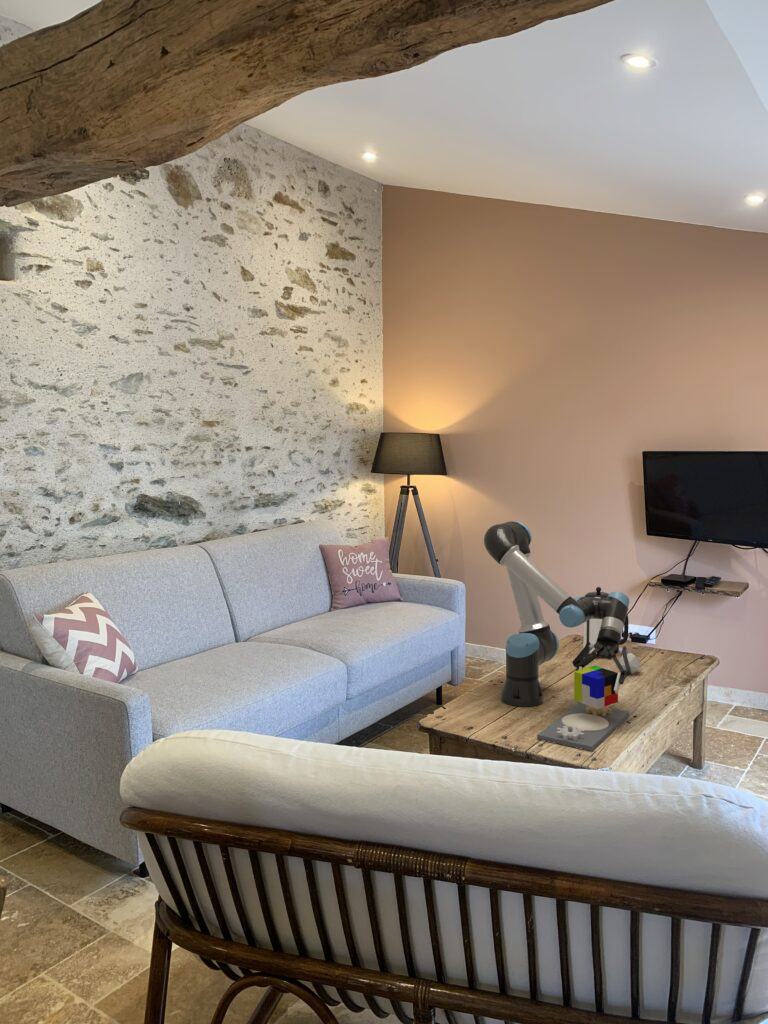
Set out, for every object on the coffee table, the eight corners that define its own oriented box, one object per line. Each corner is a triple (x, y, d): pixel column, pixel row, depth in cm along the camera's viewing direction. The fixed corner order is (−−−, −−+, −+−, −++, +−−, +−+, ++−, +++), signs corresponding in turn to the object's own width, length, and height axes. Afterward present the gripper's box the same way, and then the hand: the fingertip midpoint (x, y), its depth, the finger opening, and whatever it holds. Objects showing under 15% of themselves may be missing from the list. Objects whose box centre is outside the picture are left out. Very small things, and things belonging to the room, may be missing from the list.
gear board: (591, 751, 250) (592, 738, 250) (537, 739, 260) (537, 726, 260) (629, 716, 280) (629, 704, 279) (578, 706, 290) (579, 695, 289)
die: (629, 670, 334) (615, 652, 333) (647, 663, 328) (633, 645, 327) (625, 682, 327) (611, 664, 326) (643, 675, 322) (629, 657, 321)
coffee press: (598, 662, 342) (599, 592, 339) (572, 653, 356) (573, 585, 353) (628, 656, 350) (630, 587, 347) (602, 648, 364) (603, 581, 361)
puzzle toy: (597, 708, 266) (597, 679, 265) (574, 700, 275) (574, 671, 273) (618, 702, 272) (618, 673, 271) (594, 693, 280) (595, 665, 279)
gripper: (648, 643, 278) (635, 700, 267) (578, 634, 291) (563, 688, 281) (644, 631, 273) (631, 689, 262) (573, 623, 286) (557, 677, 275)
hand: (596, 688), depth 271 cm, fingers closed on puzzle toy, 12 cm apart
